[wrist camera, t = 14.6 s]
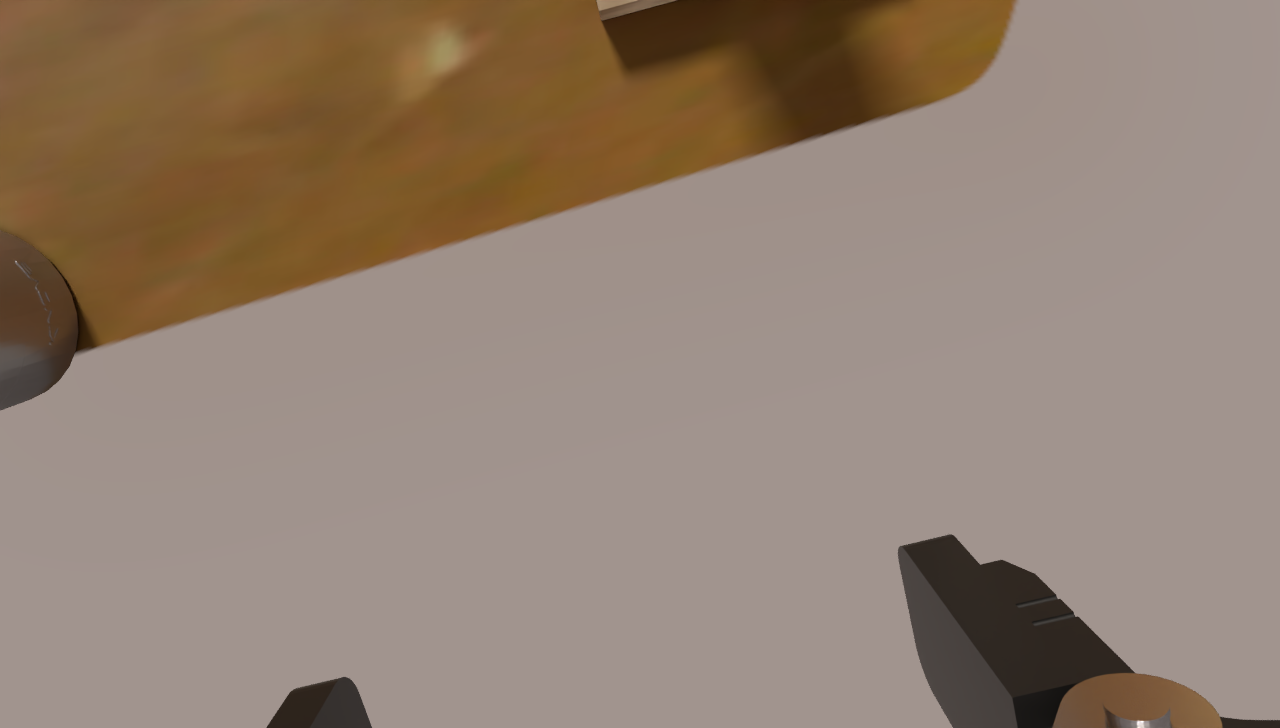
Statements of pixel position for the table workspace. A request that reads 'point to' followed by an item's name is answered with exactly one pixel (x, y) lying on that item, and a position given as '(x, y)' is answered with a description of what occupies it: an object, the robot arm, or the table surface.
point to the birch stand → (625, 6)
